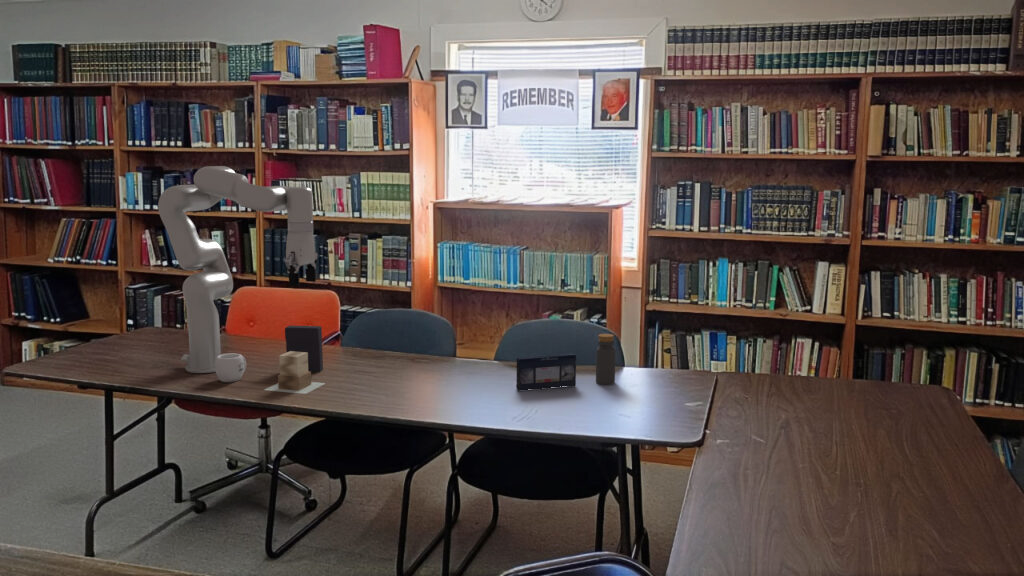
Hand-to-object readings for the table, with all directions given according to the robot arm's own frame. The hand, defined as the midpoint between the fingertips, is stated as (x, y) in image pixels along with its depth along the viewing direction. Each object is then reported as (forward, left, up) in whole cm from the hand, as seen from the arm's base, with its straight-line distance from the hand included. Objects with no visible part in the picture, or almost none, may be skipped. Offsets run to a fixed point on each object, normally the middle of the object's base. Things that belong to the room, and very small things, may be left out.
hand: (302, 283), depth 263 cm
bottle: (+90, +24, -31) cm, 98 cm away
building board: (+2, -10, -30) cm, 32 cm away
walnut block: (+2, -10, -30) cm, 31 cm away
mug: (-22, -6, -31) cm, 38 cm away
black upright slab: (-5, +8, -31) cm, 32 cm away
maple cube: (+2, -10, -26) cm, 28 cm away
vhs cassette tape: (+74, +13, -31) cm, 81 cm away
